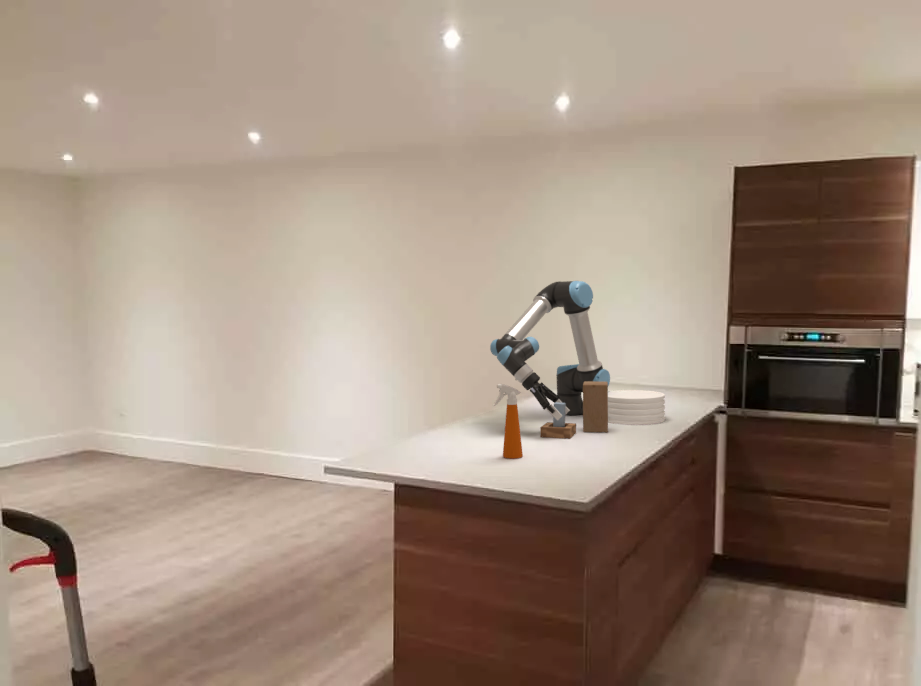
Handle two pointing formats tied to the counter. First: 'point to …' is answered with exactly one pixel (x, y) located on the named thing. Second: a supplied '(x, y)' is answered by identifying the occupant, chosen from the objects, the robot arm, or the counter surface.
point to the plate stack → (635, 407)
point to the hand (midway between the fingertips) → (564, 415)
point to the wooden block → (595, 406)
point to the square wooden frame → (558, 430)
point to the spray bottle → (511, 423)
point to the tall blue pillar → (561, 409)
